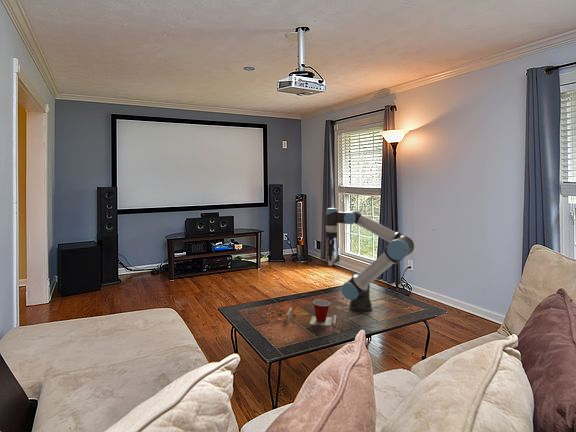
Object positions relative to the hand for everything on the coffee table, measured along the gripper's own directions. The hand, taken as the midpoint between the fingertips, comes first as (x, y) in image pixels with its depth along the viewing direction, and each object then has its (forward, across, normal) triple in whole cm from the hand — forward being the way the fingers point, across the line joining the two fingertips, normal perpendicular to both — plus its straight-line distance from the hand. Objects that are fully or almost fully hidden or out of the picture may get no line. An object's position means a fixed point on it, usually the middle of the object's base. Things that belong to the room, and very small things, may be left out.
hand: (331, 262), depth 253 cm
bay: (+32, +23, -10) cm, 40 cm away
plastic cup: (+31, +23, -4) cm, 39 cm away
